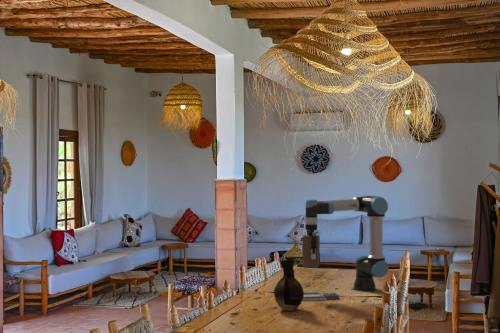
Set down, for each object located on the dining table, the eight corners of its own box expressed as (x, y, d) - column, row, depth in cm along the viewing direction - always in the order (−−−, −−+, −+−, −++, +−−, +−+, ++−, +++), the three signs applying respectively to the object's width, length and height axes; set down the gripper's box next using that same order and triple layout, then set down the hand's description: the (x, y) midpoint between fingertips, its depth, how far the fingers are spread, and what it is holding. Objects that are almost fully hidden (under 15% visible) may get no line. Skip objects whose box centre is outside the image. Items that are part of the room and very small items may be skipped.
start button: (333, 296, 447) (333, 292, 447) (334, 297, 443) (334, 293, 443) (327, 296, 446) (327, 292, 446) (328, 297, 442) (328, 293, 442)
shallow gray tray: (320, 295, 452) (320, 292, 452) (325, 300, 438) (325, 296, 438) (296, 296, 450) (296, 292, 450) (301, 300, 436) (301, 296, 436)
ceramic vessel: (301, 314, 396) (302, 262, 396) (271, 313, 399) (271, 261, 399) (305, 306, 417) (305, 257, 417) (276, 305, 420) (276, 256, 420)
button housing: (335, 296, 449) (335, 293, 449) (338, 299, 441) (338, 295, 441) (323, 296, 448) (323, 293, 448) (326, 299, 440) (326, 295, 440)
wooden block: (317, 268, 438) (318, 236, 438) (302, 267, 440) (302, 236, 439) (319, 265, 447) (319, 235, 447) (304, 265, 449) (304, 234, 449)
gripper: (301, 222, 455) (301, 255, 455) (309, 225, 431) (309, 260, 431) (312, 222, 456) (312, 255, 456) (321, 225, 432) (321, 260, 432)
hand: (311, 257), depth 443 cm, fingers closed on wooden block, 12 cm apart
